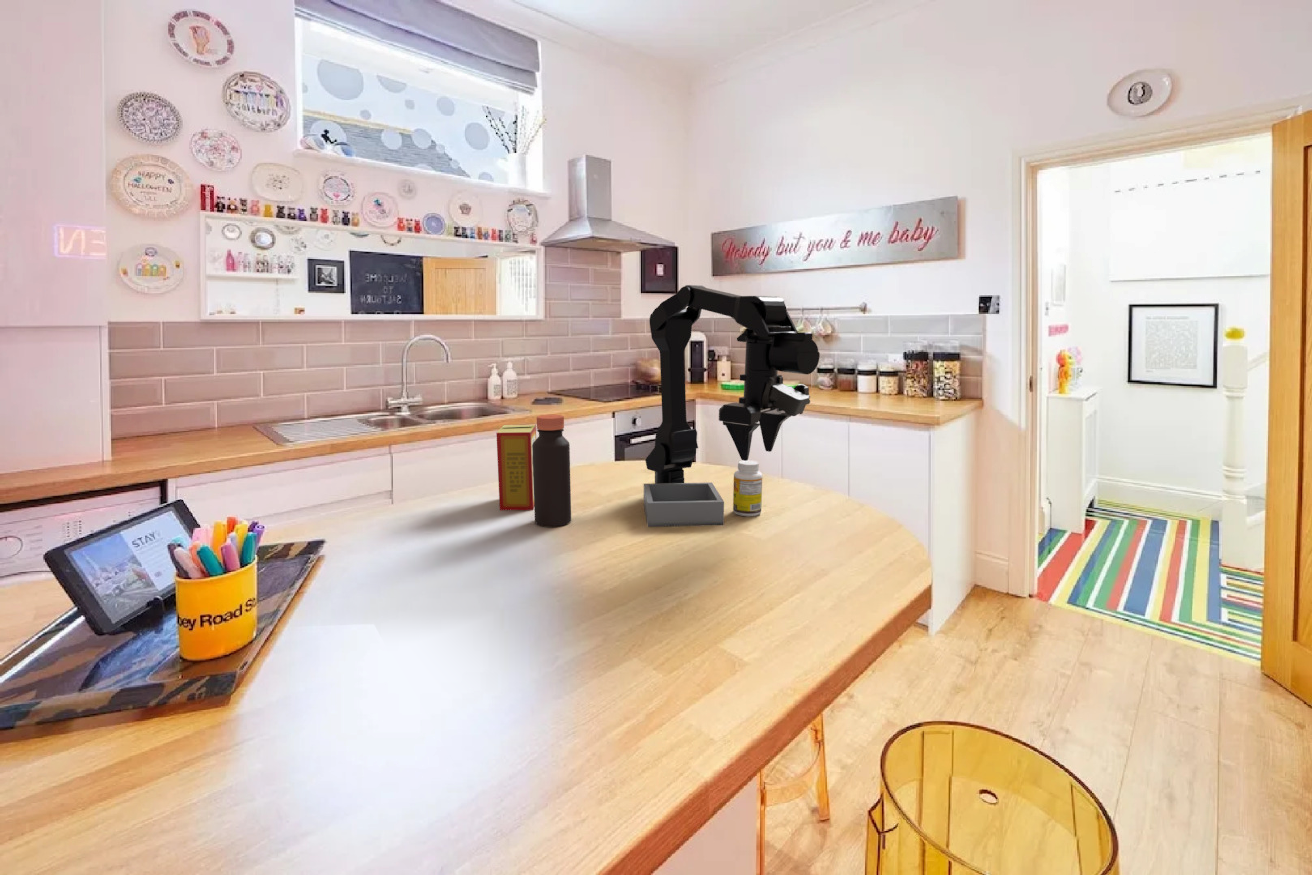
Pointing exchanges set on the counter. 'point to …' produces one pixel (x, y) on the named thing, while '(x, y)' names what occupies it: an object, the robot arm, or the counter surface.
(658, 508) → the box
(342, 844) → the counter surface
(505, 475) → the baking soda box
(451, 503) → the counter surface
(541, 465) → the vinegar
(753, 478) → the supplement bottle
